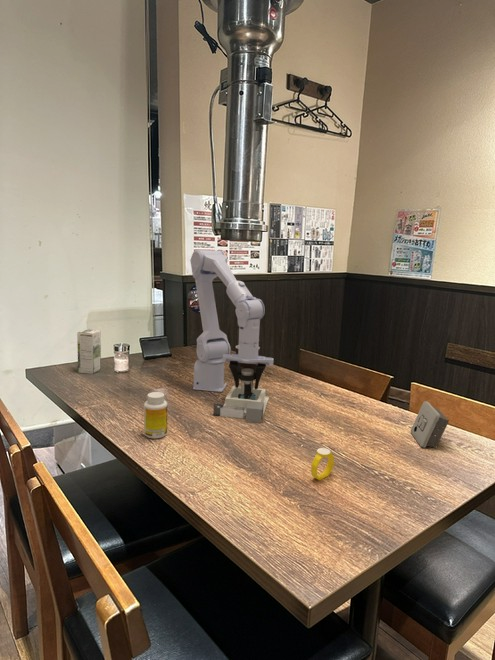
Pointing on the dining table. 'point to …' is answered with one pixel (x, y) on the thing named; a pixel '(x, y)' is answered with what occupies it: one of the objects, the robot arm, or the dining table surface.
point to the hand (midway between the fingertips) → (246, 387)
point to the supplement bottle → (155, 415)
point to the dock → (245, 402)
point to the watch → (320, 454)
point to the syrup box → (89, 351)
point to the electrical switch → (429, 426)
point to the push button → (247, 384)
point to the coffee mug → (247, 365)
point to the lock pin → (228, 411)
